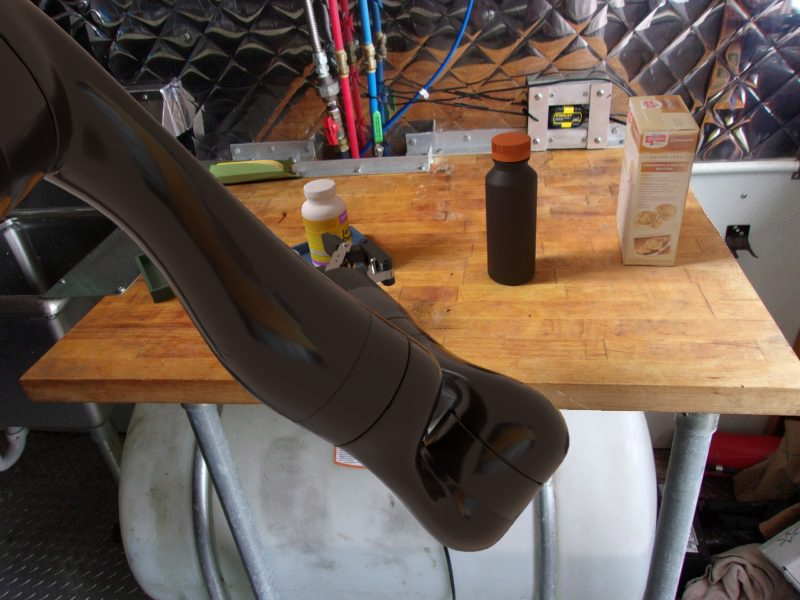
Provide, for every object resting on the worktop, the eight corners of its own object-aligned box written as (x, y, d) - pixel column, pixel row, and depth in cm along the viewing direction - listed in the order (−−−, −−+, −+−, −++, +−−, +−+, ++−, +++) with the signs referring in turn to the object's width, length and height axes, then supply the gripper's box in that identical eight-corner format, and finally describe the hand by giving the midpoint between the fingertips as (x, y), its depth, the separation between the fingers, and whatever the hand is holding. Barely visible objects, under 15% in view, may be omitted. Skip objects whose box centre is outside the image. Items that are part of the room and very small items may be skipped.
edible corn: (216, 179, 129) (210, 159, 126) (304, 172, 127) (299, 152, 124) (208, 189, 125) (201, 168, 122) (299, 181, 122) (294, 161, 120)
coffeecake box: (676, 267, 81) (701, 128, 70) (622, 265, 83) (638, 130, 72) (661, 217, 93) (681, 92, 82) (614, 217, 95) (627, 95, 84)
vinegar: (531, 288, 81) (534, 148, 70) (483, 284, 83) (478, 147, 72) (538, 263, 86) (542, 129, 75) (492, 259, 88) (489, 129, 77)
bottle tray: (313, 297, 85) (310, 285, 84) (280, 261, 95) (278, 251, 94) (391, 266, 90) (389, 255, 89) (353, 235, 100) (351, 225, 98)
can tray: (154, 303, 88) (150, 292, 87) (138, 266, 99) (134, 256, 98) (262, 264, 95) (258, 254, 94) (235, 233, 105) (233, 223, 104)
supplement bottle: (353, 270, 89) (339, 192, 82) (310, 274, 89) (292, 196, 82) (356, 249, 95) (343, 174, 87) (316, 252, 95) (300, 178, 88)
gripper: (429, 259, 48) (343, 199, 60) (264, 327, 43) (207, 245, 55) (436, 332, 52) (355, 262, 64) (288, 402, 47) (229, 311, 59)
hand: (287, 254), depth 59 cm, fingers open, 8 cm apart
